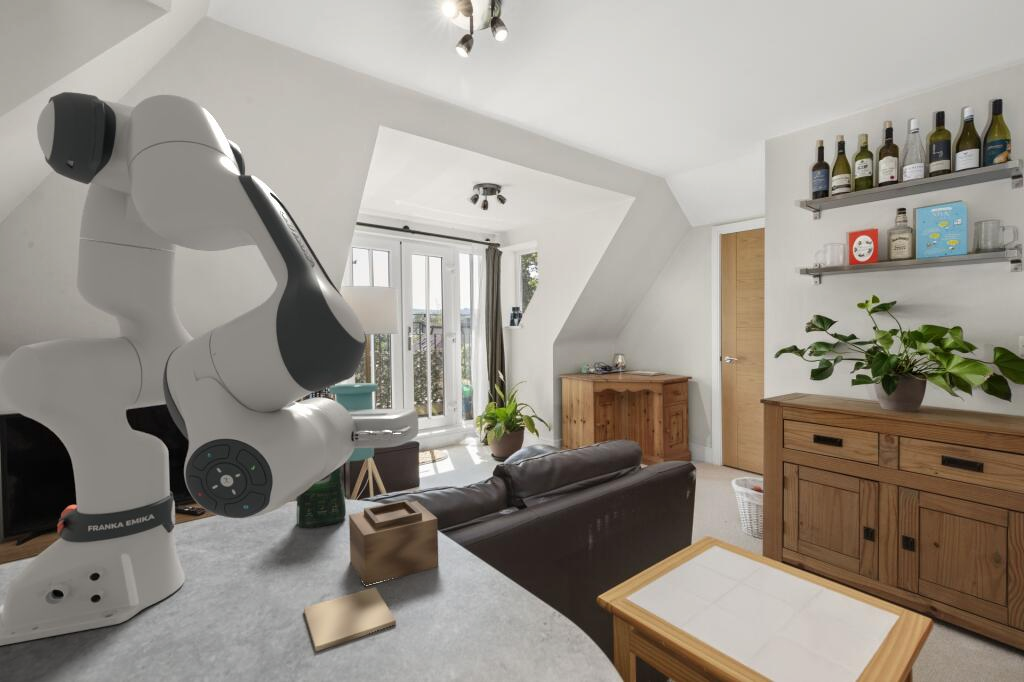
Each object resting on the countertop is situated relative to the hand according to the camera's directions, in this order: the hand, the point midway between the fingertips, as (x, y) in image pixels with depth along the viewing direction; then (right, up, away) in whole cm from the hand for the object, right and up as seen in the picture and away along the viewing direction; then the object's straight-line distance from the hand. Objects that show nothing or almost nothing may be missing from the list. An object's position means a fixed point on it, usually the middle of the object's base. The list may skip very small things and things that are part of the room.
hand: (357, 416), depth 69 cm
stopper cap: (0, -6, -1) cm, 6 cm away
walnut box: (+2, -27, +13) cm, 30 cm away
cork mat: (0, -27, -3) cm, 27 cm away
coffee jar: (-18, -27, +32) cm, 46 cm away
